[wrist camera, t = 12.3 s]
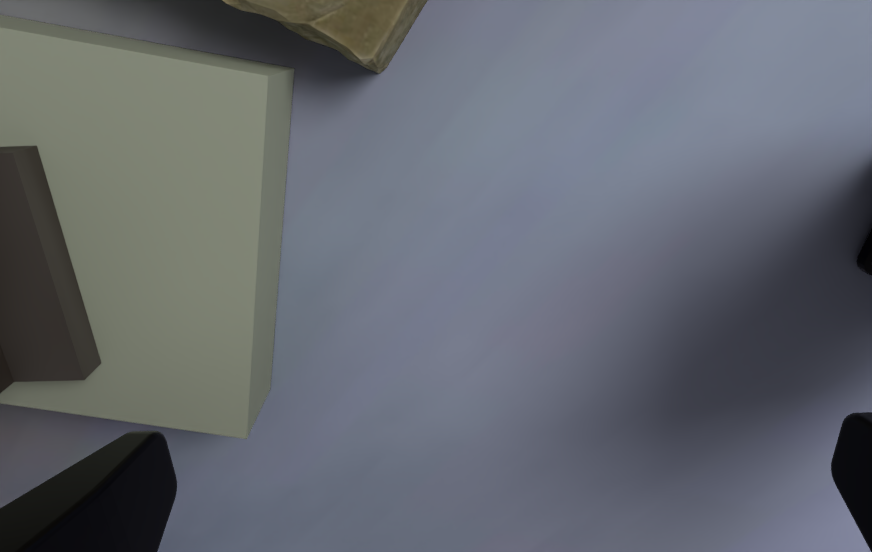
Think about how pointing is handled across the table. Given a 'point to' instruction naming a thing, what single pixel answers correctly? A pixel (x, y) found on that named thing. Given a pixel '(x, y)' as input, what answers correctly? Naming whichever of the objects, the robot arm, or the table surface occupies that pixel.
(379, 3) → the decorative tile
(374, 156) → the table surface
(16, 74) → the picture ledge
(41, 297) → the dark photo frame
